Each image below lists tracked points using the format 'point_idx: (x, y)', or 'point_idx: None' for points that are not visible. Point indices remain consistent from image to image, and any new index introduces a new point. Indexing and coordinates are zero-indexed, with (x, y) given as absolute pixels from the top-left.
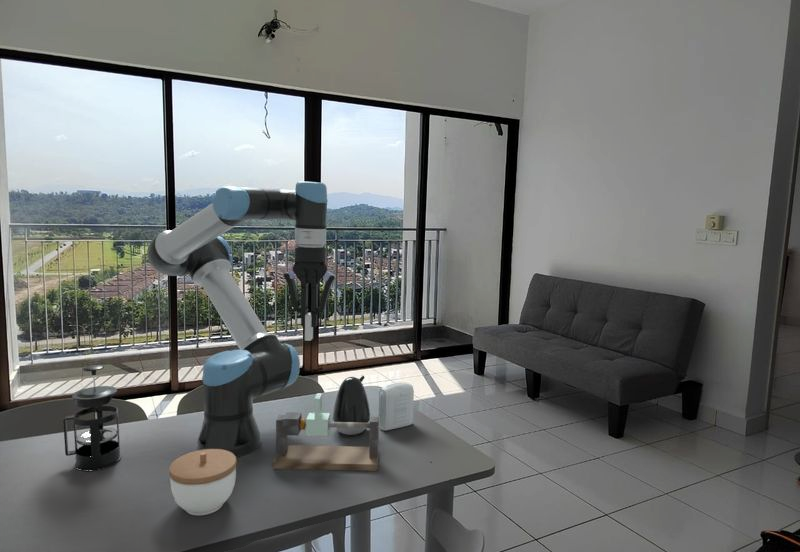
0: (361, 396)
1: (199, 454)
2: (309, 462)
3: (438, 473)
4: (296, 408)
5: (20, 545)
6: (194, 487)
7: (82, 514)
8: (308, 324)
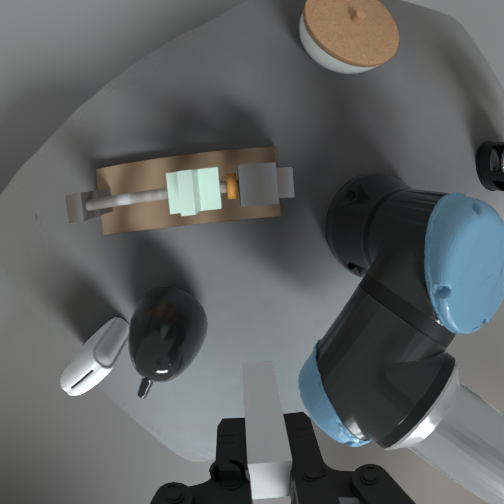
0: (131, 331)
1: (375, 43)
2: (210, 154)
3: (25, 183)
4: None
5: (448, 15)
6: None
7: (442, 49)
8: (261, 418)
